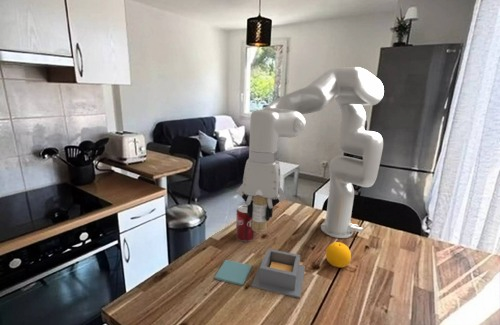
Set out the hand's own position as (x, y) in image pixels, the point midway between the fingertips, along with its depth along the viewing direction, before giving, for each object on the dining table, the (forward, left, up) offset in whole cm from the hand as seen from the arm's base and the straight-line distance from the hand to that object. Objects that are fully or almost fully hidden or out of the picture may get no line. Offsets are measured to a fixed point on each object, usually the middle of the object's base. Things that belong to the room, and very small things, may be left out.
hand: (259, 217), depth 77 cm
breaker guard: (-7, -2, -20) cm, 21 cm away
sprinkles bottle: (0, 0, -4) cm, 4 cm away
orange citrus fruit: (-24, -15, -20) cm, 34 cm away
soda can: (+10, -20, -20) cm, 30 cm away
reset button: (-7, -2, -19) cm, 20 cm away
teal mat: (+7, +1, -20) cm, 21 cm away
